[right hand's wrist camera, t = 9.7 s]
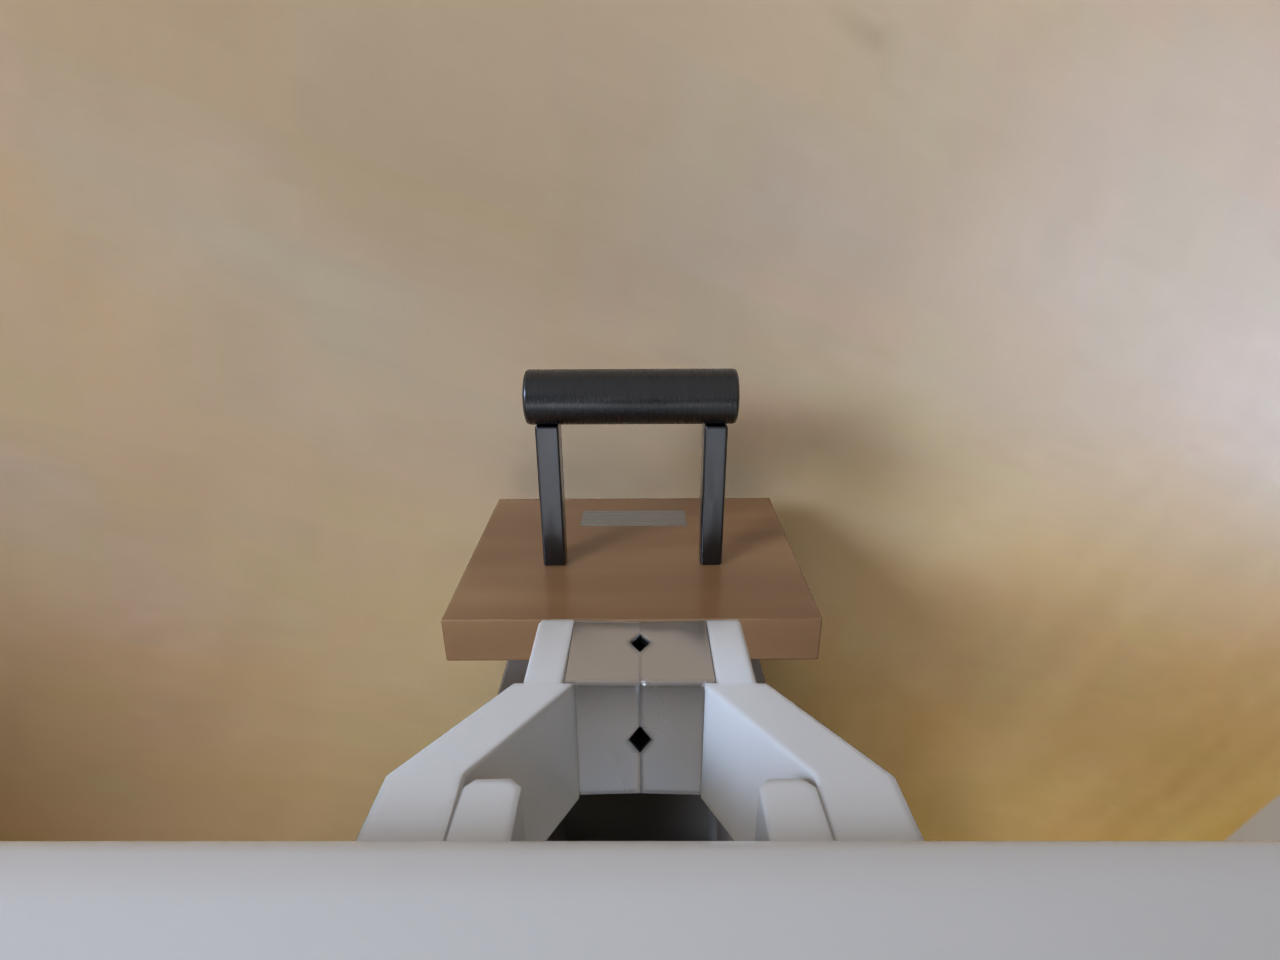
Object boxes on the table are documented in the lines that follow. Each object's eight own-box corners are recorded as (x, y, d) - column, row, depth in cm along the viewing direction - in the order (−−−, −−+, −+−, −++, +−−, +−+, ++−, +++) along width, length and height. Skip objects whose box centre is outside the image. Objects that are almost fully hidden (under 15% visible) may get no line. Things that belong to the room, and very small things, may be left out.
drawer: (484, 338, 21) (411, 401, 14) (781, 337, 21) (847, 399, 14) (531, 864, 30) (499, 1060, 23) (743, 864, 30) (773, 1059, 23)
